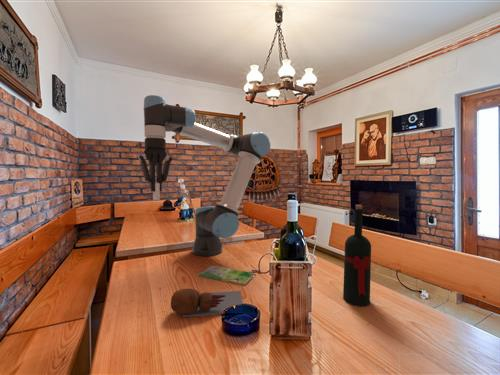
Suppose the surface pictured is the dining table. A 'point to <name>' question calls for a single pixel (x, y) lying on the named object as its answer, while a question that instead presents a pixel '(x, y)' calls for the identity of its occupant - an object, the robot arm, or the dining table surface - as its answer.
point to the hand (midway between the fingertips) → (156, 199)
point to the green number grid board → (227, 275)
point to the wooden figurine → (193, 301)
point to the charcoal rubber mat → (229, 300)
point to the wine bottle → (357, 265)
